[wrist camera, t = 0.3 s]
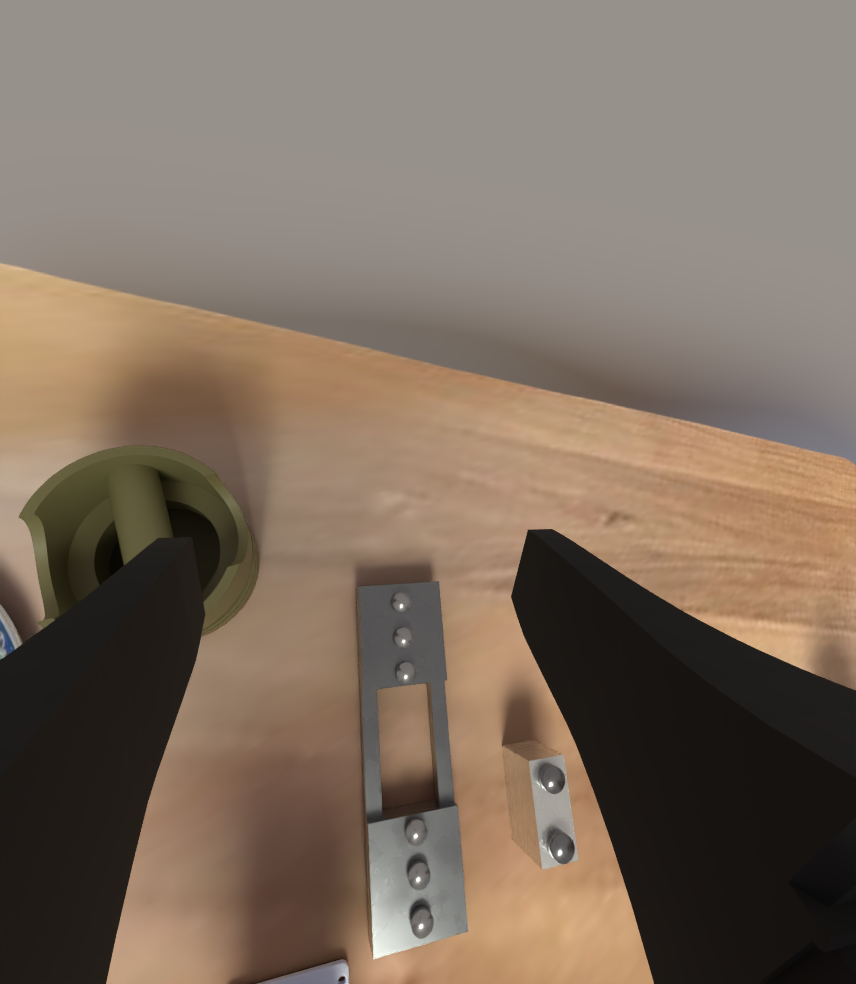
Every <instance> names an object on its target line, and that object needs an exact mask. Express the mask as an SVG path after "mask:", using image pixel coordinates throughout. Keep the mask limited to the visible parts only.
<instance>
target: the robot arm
mask: <svg viewBox="0 0 856 984" xmlns="http://www.w3.org/2000/svg"><path fill="white" fill-rule="evenodd" d="M511 598H512V601H513V604H514V608H515V611H516V614H517V617H518V620H519V623H520V626H521V629H522V632H523V635H524V637H525V639H526V641H527V643H528V645H529V648H530V650H531V652H532V654H533V656H534V658H535V660H536V662H537V664H538V666H539V668H540V670H541V672H542V674H543V676H544V678H545V680H546V682H547V684H548V687H549V689H550V691H551V693H552V695H553V697H554V699H555V701H556V703H557V705H558V707H559V709H560V711H561V713H562V715H563V717H564V719H565V721H566V723H567V725H568V727H569V730H570V732H571V734H572V736H573V739H574V741H575V743H576V746H577V748H578V751H579V753H580V756H581V759H582V761H583V764H584V767H585V769H586V772H587V775H588V777H589V780H590V783H591V785H592V788H593V790H594V793H595V796H596V799H597V802H598V805H599V808H600V810H601V813H602V816H603V819H604V822H605V825H606V828H607V830H608V833H609V836H610V839H611V842H612V845H613V848H614V851H615V854H616V857H617V861H618V864H619V867H620V870H621V873H622V876H623V879H624V883H625V886H626V889H627V892H628V895H629V898H630V901H631V905H632V908H633V911H634V915H635V918H636V922H637V925H638V929H639V932H640V936H641V939H642V942H643V946H644V949H645V953H646V956H647V960H648V963H649V967H650V970H651V974H652V977H653V981H654V984H856V690H853V689H850V688H848V687H845V686H842V685H840V684H837V683H834V682H832V681H829V680H827V679H825V678H822V677H820V676H817V675H815V674H812V673H810V672H807V671H805V670H802V669H800V668H798V667H796V666H793V665H791V664H789V663H787V662H784V661H782V660H780V659H778V658H775V657H773V656H771V655H769V654H766V653H764V652H762V651H759V650H757V649H755V648H753V647H751V646H749V645H747V644H745V643H743V642H741V641H738V640H736V639H734V638H732V637H731V636H729V635H727V634H725V633H723V632H721V631H719V630H717V629H715V628H713V627H711V626H709V625H707V624H705V623H703V622H701V621H700V620H698V619H696V618H694V617H692V616H691V615H689V614H687V613H685V612H683V611H682V610H680V609H678V608H676V607H675V606H673V605H671V604H670V603H668V602H666V601H665V600H663V599H661V598H660V597H658V596H656V595H655V594H653V593H651V592H650V591H648V590H647V589H645V588H643V587H642V586H640V585H639V584H637V583H635V582H634V581H632V580H631V579H629V578H628V577H626V576H625V575H623V574H621V573H620V572H618V571H617V570H615V569H614V568H612V567H611V566H609V565H608V564H606V563H605V562H603V561H602V560H600V559H599V558H597V557H596V556H594V555H593V554H591V553H590V552H588V551H587V550H585V549H584V548H582V547H581V546H579V545H578V544H576V543H575V542H573V541H571V540H570V539H568V538H567V537H565V536H563V535H562V534H560V533H558V532H556V531H555V530H553V529H539V530H528V532H527V536H526V540H525V544H524V548H523V552H522V556H521V560H520V564H519V568H518V572H517V576H516V579H515V583H514V587H513V591H512V595H511ZM204 619H205V609H204V603H203V597H202V592H201V586H200V580H199V575H198V569H197V563H196V557H195V552H194V546H193V540H192V537H176V538H157V539H156V540H155V541H154V542H152V543H151V544H150V545H148V546H147V547H146V548H145V549H143V550H142V551H141V552H140V553H139V554H137V555H136V556H135V557H134V558H133V559H131V560H130V561H129V562H128V563H127V564H125V565H124V566H123V567H122V568H120V569H119V570H118V571H117V572H116V573H114V574H113V575H112V576H111V577H110V578H108V579H107V580H106V581H105V582H103V583H102V584H101V585H100V586H98V587H97V588H96V589H95V590H93V591H92V592H91V593H90V594H88V595H87V596H86V597H85V598H83V599H82V600H81V601H80V602H78V603H77V604H76V605H75V606H73V607H72V608H71V609H69V610H68V611H67V612H65V613H64V614H63V615H61V616H60V617H58V618H57V619H56V620H54V621H53V622H52V623H50V624H49V625H48V626H46V627H45V628H44V629H42V630H41V631H39V632H38V633H37V634H35V635H34V636H33V637H31V638H30V639H29V640H27V641H26V642H25V643H23V644H22V645H20V646H19V647H18V648H16V649H15V650H14V651H12V652H11V653H9V654H8V655H6V656H5V657H3V658H2V659H1V660H0V984H106V981H107V976H108V972H109V967H110V962H111V957H112V953H113V948H114V943H115V938H116V934H117V930H118V925H119V921H120V917H121V912H122V908H123V903H124V899H125V895H126V890H127V886H128V882H129V877H130V873H131V869H132V864H133V860H134V856H135V852H136V848H137V844H138V840H139V836H140V832H141V828H142V824H143V820H144V816H145V812H146V807H147V804H148V800H149V797H150V794H151V790H152V787H153V784H154V781H155V777H156V774H157V771H158V768H159V766H160V763H161V760H162V757H163V754H164V751H165V748H166V745H167V743H168V740H169V737H170V734H171V731H172V728H173V725H174V723H175V720H176V717H177V714H178V711H179V708H180V705H181V703H182V700H183V697H184V694H185V691H186V688H187V685H188V682H189V679H190V676H191V673H192V670H193V667H194V664H195V661H196V657H197V653H198V648H199V644H200V639H201V634H202V629H203V624H204ZM341 976H344V977H345V978H344V980H343V981H338V979H339V977H341ZM257 984H349V968H348V963H347V961H346V960H344V959H341V960H337V961H334V962H330V963H327V964H323V965H320V966H316V967H313V968H309V969H306V970H302V971H299V972H295V973H292V974H288V975H285V976H281V977H278V978H275V979H271V980H268V981H264V982H261V983H257Z"/></svg>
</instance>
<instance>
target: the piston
mask: <svg viewBox="0 0 856 984" xmlns="http://www.w3.org/2000/svg"><path fill="white" fill-rule="evenodd" d="M19 518H21V519H22V520H24V521H25V523H26V524H27V526H28V528H29V530H30V533H31V536H32V541H33V546H34V553H35V559H36V566H37V573H38V578H39V584H40V589H41V594H42V598H43V603H44V608H45V618H44V620H43V621H39V622H37V623H38V624H39V625H40V626H42V627H43V628H45V627H46V626H48V625H49V624H50V623H52V622H53V621H54V620H56V619H57V618H58V617H60V616H61V615H63V614H64V613H65V612H67V611H68V610H69V609H71V608H72V607H73V606H75V605H76V604H77V603H78V602H80V601H81V600H82V599H83V598H85V597H86V596H87V595H88V594H90V593H91V592H92V591H93V590H95V589H96V588H97V587H98V586H100V585H101V584H102V583H103V582H105V581H106V580H107V579H108V578H110V577H111V576H112V575H113V574H114V573H116V572H117V571H118V570H119V569H120V568H122V567H123V566H124V565H125V564H127V563H128V562H129V561H130V560H131V559H133V558H134V557H135V556H136V555H137V554H139V553H140V552H141V551H142V550H143V549H145V548H146V547H147V546H148V545H150V544H151V543H152V542H154V541H155V540H156V539H157V538H176V537H192V540H193V546H194V552H195V557H196V563H197V569H198V575H199V580H200V586H201V592H202V597H203V603H204V609H205V619H204V624H203V629H202V634H201V636H204V635H207V634H209V633H211V632H213V631H215V630H217V629H219V628H220V627H222V626H223V625H225V624H226V623H227V622H229V621H230V620H231V619H232V618H233V617H234V616H235V615H236V614H237V613H238V612H239V611H240V610H241V609H242V608H243V606H244V605H245V604H246V602H247V601H248V599H249V597H250V596H251V594H252V592H253V589H254V587H255V584H256V581H257V577H258V571H259V554H258V548H257V545H256V542H255V539H254V537H253V535H252V533H251V530H250V528H249V526H248V524H247V522H246V520H245V518H244V516H243V514H242V512H241V510H240V508H239V506H238V504H237V502H236V501H235V499H234V498H233V496H232V495H231V493H230V492H229V490H228V489H227V488H226V486H225V485H224V484H223V483H222V481H221V480H220V479H219V477H218V476H217V474H216V473H215V472H214V471H213V470H211V469H210V468H209V467H208V466H206V465H205V464H203V463H202V462H200V461H198V460H196V459H195V458H193V457H190V456H188V455H186V454H183V453H181V452H178V451H174V450H171V449H166V448H161V447H154V446H125V447H118V448H112V449H107V450H104V451H100V452H97V453H94V454H91V455H88V456H86V457H83V458H81V459H79V460H77V461H75V462H73V463H71V464H69V465H68V466H66V467H64V468H63V469H61V470H60V471H58V472H57V473H56V474H54V475H53V476H52V477H51V478H49V479H48V480H47V481H46V482H45V483H44V484H43V485H42V486H41V487H40V488H39V489H38V490H37V491H36V492H35V493H34V494H33V496H32V497H31V498H30V499H29V501H28V502H27V504H26V505H25V507H24V508H23V510H22V512H21V513H20V515H19Z"/></svg>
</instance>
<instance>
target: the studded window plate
mask: <svg viewBox="0 0 856 984" xmlns="http://www.w3.org/2000/svg"><path fill="white" fill-rule="evenodd" d="M356 604H357V631H358V657H359V684H360V711H361V737H362V764H363V791H364V818H365V844H366V871H367V898H368V925H369V942H370V947H371V951H372V955H373V959H376V958H379V957H383V956H386V955H390V954H393V953H396V952H400V951H403V950H407V949H410V948H414V947H417V946H420V945H424V944H427V943H431V942H434V941H437V940H441V939H444V938H448V937H451V936H455V935H458V934H461V933H465V932H468V924H467V912H466V900H465V888H464V876H463V864H462V852H461V840H460V828H459V816H458V805H457V804H456V803H455V802H454V793H453V781H452V768H451V756H450V744H449V732H448V720H447V708H446V696H445V683H444V681H445V680H447V673H446V661H445V650H444V638H443V626H442V614H441V602H440V590H439V581H437V582H421V583H405V584H389V585H373V586H359V587H357V588H356ZM422 683H427V692H428V706H429V719H430V733H431V747H432V761H433V774H434V788H435V799H434V800H429V801H424V802H419V803H414V804H409V805H404V806H399V807H394V808H389V809H384V810H382V794H381V773H380V751H379V729H378V708H377V689H382V688H390V687H398V686H406V685H414V684H422Z"/></svg>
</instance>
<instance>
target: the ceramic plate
mask: <svg viewBox="0 0 856 984" xmlns="http://www.w3.org/2000/svg"><path fill="white" fill-rule="evenodd" d="M22 644H23V643H22V640H21V638H20V636H19V633H18V631H17V629H16V627H15V625H14V623H13V622H12V620H11V618H10V617H9V615H8V614H7V612H6V611H5V609H4V608H3V607H2V605H1V604H0V660H1V659H2V658H3V657H5V656H6V655H8V654H9V653H11V652H12V651H14V650H15V649H16V648H18V647H19V646H20V645H22Z"/></svg>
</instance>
